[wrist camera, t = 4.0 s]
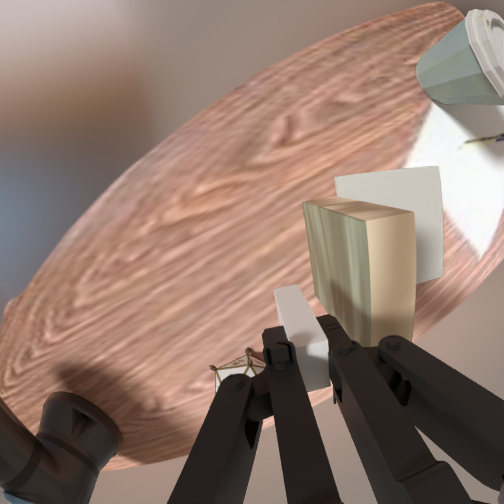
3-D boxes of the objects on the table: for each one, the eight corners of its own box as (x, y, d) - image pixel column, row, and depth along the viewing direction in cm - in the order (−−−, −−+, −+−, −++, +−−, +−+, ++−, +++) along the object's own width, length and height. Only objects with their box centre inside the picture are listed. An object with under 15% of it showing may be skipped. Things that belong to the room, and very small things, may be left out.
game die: (255, 340, 35) (312, 355, 27) (253, 399, 34) (306, 425, 26) (191, 346, 30) (239, 370, 22) (192, 411, 29) (237, 450, 21)
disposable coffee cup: (463, 77, 24) (537, 56, 9) (454, 136, 26) (543, 130, 11) (406, 32, 22) (475, -14, 8) (393, 91, 24) (482, 51, 10)
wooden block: (314, 293, 30) (365, 371, 16) (301, 202, 27) (360, 221, 14) (345, 286, 30) (410, 355, 16) (335, 196, 27) (414, 211, 14)
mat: (348, 301, 30) (349, 304, 30) (334, 176, 27) (335, 176, 26) (440, 274, 30) (442, 275, 30) (435, 165, 27) (438, 165, 26)
